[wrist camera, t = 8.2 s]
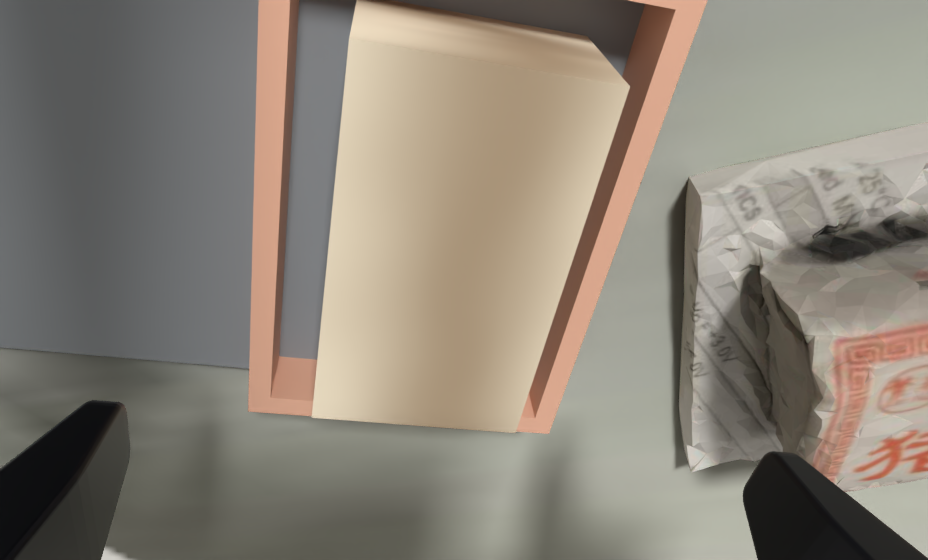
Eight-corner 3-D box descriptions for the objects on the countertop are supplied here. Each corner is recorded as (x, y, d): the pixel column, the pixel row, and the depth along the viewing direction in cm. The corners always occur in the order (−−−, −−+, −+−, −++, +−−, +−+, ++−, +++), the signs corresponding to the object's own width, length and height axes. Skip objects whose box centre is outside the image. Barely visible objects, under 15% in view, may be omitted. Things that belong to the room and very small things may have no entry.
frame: (275, -116, 12) (261, -107, 10) (683, -32, 13) (713, -16, 12) (258, 369, 18) (247, 411, 16) (538, 393, 19) (548, 433, 18)
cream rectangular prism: (323, 330, 17) (311, 417, 15) (357, -6, 13) (349, 38, 10) (498, 347, 18) (515, 432, 15) (587, 36, 14) (630, 86, 11)
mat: (-429, -1056, 7) (-471, -1099, 7) (872, -571, 10) (888, -584, 9) (-47, 332, 17) (-56, 342, 16) (545, 383, 19) (547, 393, 19)
